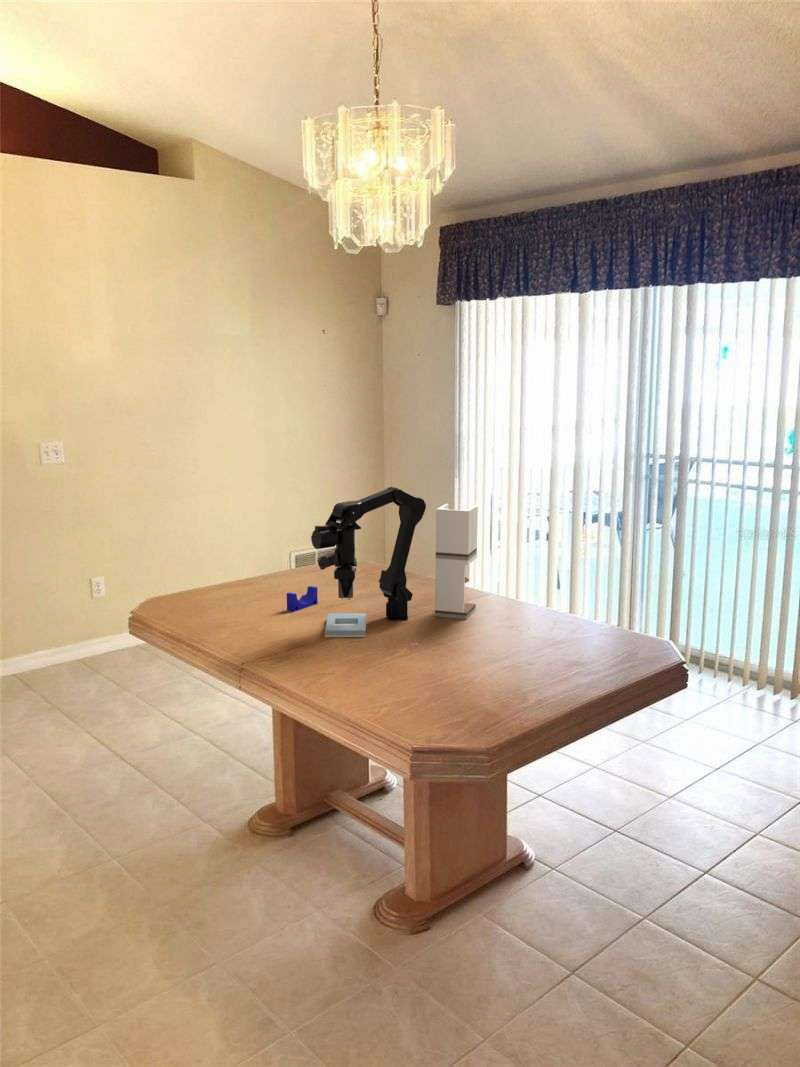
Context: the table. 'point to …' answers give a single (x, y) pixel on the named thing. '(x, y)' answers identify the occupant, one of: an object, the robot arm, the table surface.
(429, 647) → the table surface
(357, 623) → the socket
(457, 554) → the white dispenser
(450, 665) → the table surface
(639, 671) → the table surface
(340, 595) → the plug
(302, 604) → the blue notched cradle
